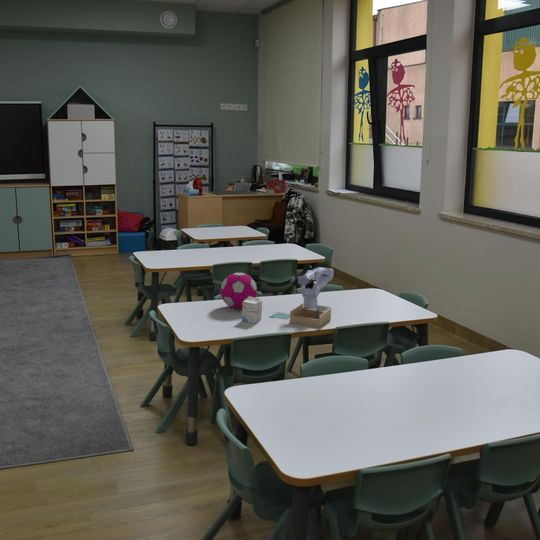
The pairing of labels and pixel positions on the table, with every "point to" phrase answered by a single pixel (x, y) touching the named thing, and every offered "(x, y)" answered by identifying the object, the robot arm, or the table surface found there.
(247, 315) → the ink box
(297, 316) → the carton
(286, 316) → the teal mat
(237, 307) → the soccer ball
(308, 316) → the walnut block
